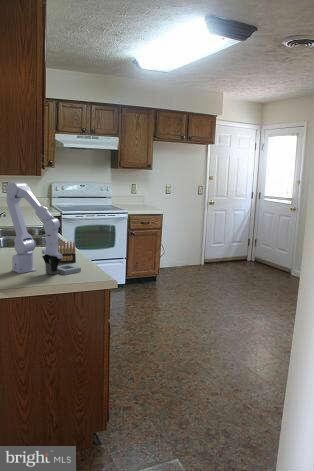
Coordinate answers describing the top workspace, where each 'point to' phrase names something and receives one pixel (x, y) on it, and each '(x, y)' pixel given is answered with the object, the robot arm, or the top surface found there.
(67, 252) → the ammunition clip
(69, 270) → the socket plate
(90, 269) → the top surface
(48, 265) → the plug
